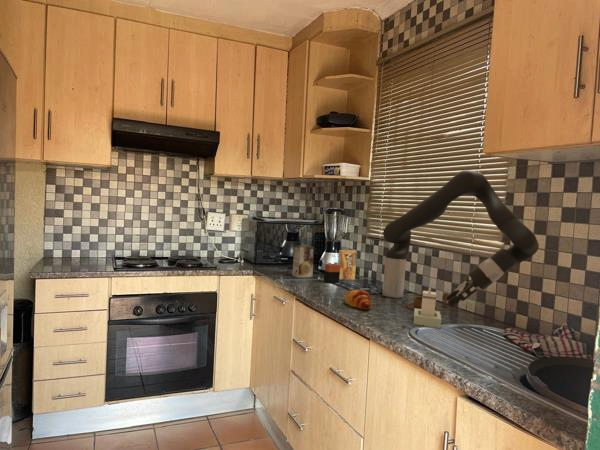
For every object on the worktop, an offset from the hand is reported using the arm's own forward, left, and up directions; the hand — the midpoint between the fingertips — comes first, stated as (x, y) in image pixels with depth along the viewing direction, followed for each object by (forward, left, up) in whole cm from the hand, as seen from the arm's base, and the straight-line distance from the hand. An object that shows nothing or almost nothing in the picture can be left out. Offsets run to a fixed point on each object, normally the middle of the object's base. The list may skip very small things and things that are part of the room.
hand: (448, 302), depth 157 cm
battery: (-55, -52, -8) cm, 76 cm away
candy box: (-70, -47, -8) cm, 85 cm away
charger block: (-1, -7, -7) cm, 10 cm away
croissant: (-13, -33, -9) cm, 36 cm away
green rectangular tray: (0, -7, -8) cm, 11 cm away
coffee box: (-62, -69, -8) cm, 93 cm away
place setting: (-23, -4, -9) cm, 25 cm away
